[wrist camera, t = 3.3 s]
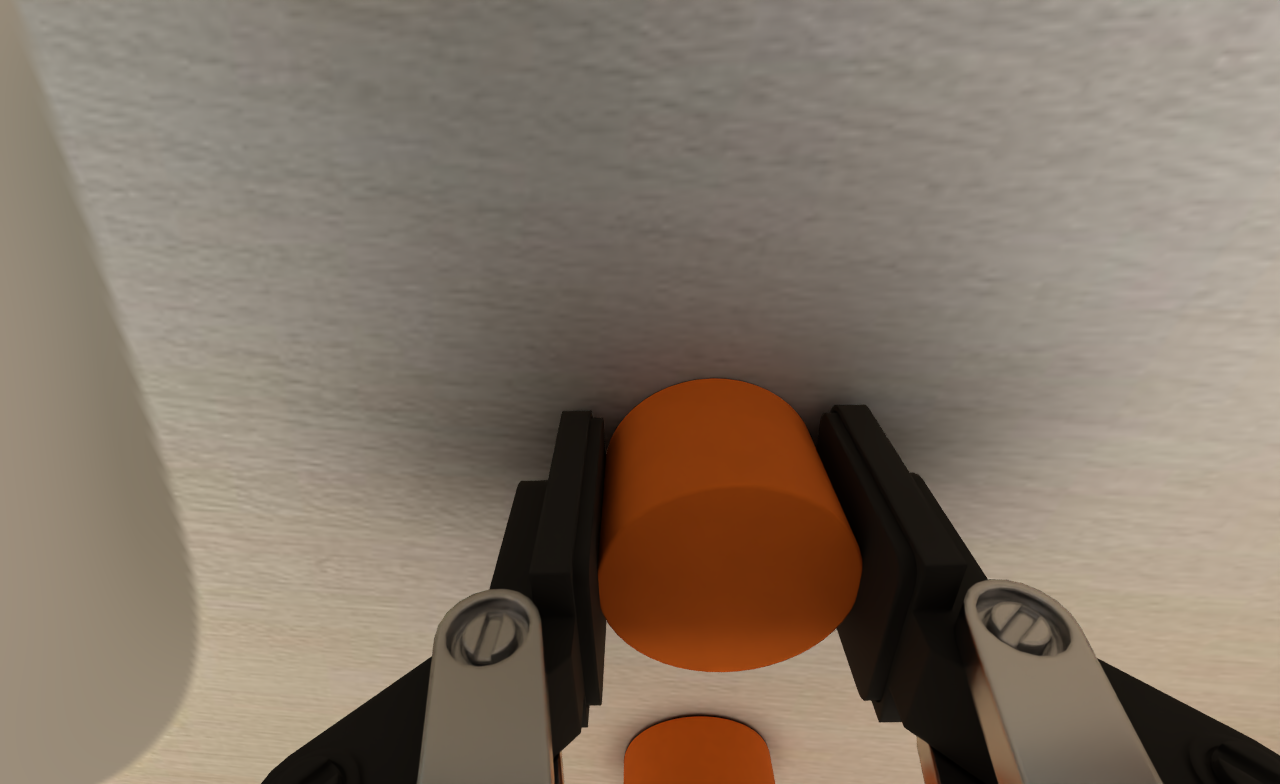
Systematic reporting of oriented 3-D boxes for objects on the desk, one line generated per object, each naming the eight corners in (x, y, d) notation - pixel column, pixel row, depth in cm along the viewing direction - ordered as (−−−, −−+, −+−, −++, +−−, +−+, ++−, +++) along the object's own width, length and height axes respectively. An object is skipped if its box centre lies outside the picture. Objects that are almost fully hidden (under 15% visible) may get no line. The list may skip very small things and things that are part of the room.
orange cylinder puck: (598, 379, 11) (586, 487, 8) (825, 374, 11) (886, 481, 8) (610, 546, 13) (602, 675, 10) (800, 542, 13) (843, 671, 10)
